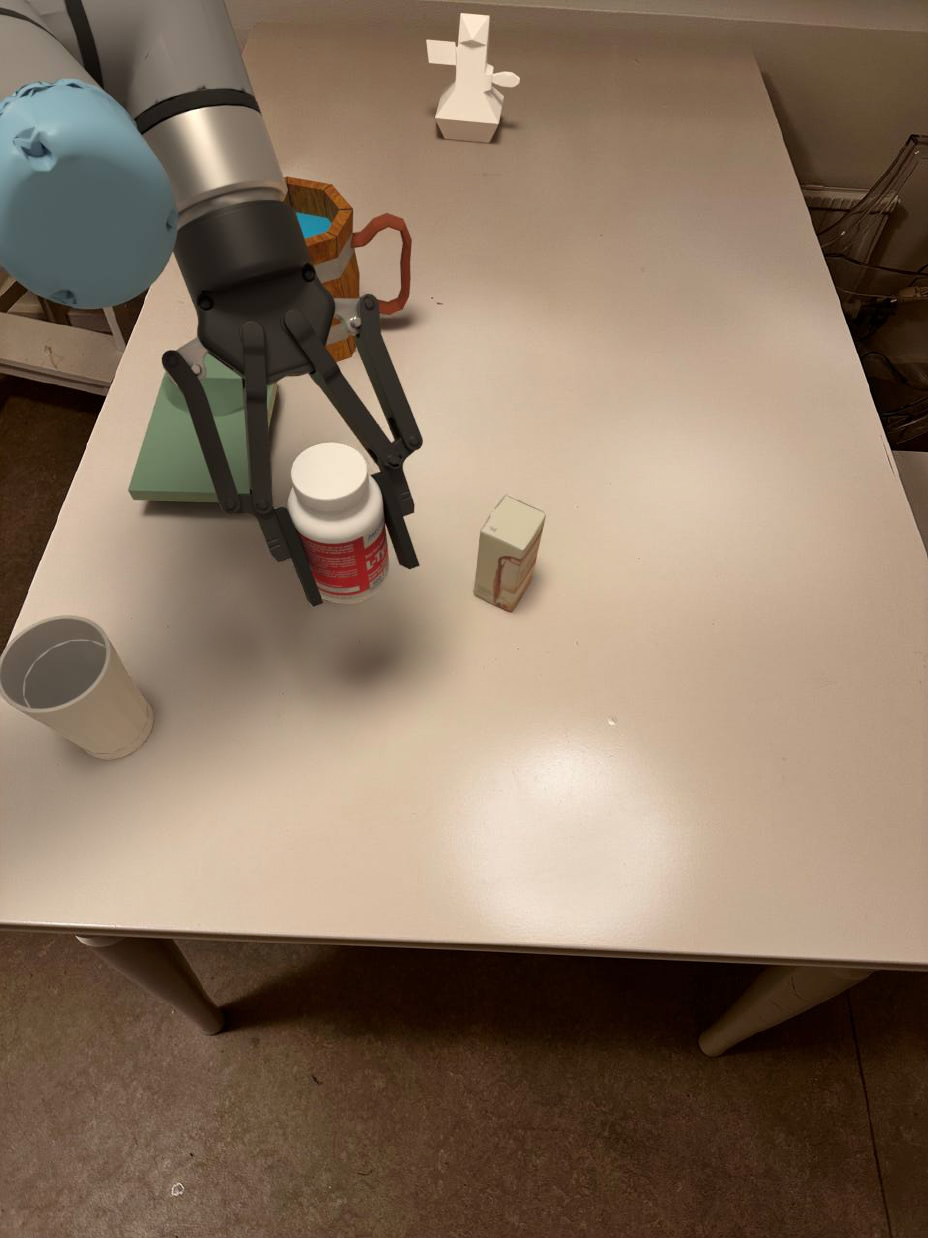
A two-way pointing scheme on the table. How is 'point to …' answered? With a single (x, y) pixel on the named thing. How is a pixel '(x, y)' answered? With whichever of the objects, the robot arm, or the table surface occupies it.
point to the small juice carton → (508, 551)
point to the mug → (342, 249)
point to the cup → (76, 686)
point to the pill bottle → (339, 522)
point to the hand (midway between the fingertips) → (363, 582)
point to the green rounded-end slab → (193, 440)
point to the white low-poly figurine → (470, 83)
